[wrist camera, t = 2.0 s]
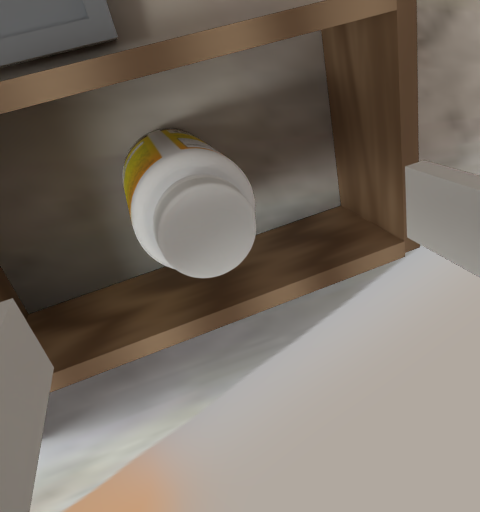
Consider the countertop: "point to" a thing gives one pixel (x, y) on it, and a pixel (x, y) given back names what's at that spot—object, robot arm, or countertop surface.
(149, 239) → the supplement bottle
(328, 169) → the countertop surface
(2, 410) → the robot arm
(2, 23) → the tray
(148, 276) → the frame
